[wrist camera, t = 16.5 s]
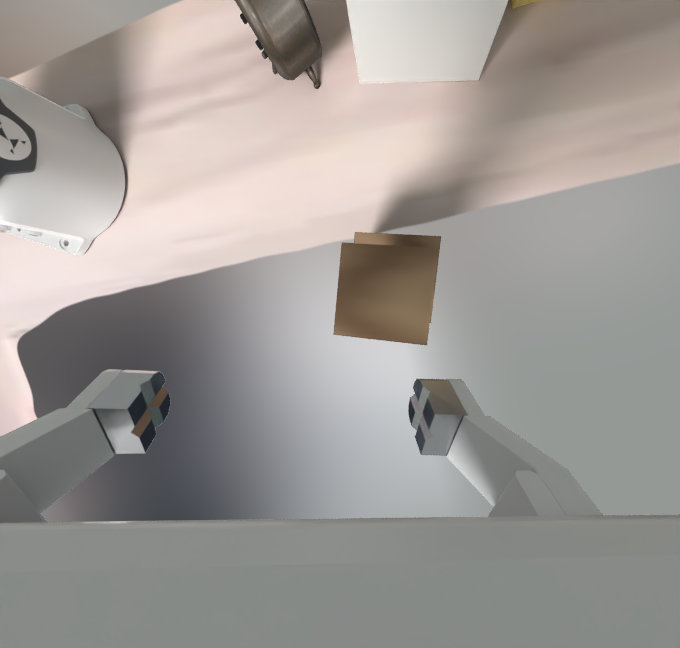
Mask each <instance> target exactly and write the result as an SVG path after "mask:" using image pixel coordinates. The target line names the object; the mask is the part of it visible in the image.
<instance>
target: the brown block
mask: <svg viewBox="0 0 680 648" xmlns="http://www.w3.org/2000/svg"><path fill="white" fill-rule="evenodd" d="M440 241H441V236H421V235H402V234H382V233H363V232H355V237H354V243H342V246H341V257H340V269H339V280H338V291H337V303H336V313H335V325H334V335H342V336H351V337H359V338H368V339H376V340H386V341H394V342H402V343H412V344H420V345H427V340H428V332H429V323H431V316H432V308H433V299H434V291H435V282H436V274H437V266H438V257H439V249H440Z"/></svg>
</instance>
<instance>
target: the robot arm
mask: <svg viewBox="0 0 680 648" xmlns="http://www.w3.org/2000/svg"><path fill="white" fill-rule="evenodd" d="M124 192H125V173H124V167H123V163H122V160H121V157H120V155H119V152H118V150H117V149H116V147H115V145H114V144H113V143H112V141H111V140H110V139H109V138H108V137H107V136H106V135H105V134H104V133H102V132H101V131H100V130H99V129H98V128H97V127H96V126H95V123H94V121H93V119H92V117H91V115H90V114H89V112H88V111H87V109H85V108H84V107H82V106H80V105H78V104H69V105H66V106H60V105H58V104H56V103H54V102H52V101H50V100H48V99H47V98H45V97H43V96H41V95H39V94H37V93H35V92H33V91H31V90H29V89H27V88H25V87H23V86H21V85H19V84H17V83H15V82H14V81H12V80H9V79H7V78H4V77H0V232H4V233H6V232H7V233H10V234H13V235H16V236H19V237H22V238H25V239H28V240H31V241H33V242H36V243H39V244H42V245H45V246H48V247H51V248H54V249H57V250H60V251H63V252H66V253H69V254H73V255H77V256H81V255H83V254H84V253H85V252H86V251H87V249H88V248H89V246H90V244H91V242H92V241H93V239H94V238H95V237H96V236H98V235H99V234H100V233H102V232H103V231H104V230H106V229H107V228H108V227H109V226H110V224H111V223H112V222H113V221H114V219H115V218H116V216H117V214H118V212H119V210H120V208H121V205H122V202H123V198H124ZM164 383H165V378H164V376H163V374H162V373H161V372H158V371H138V370H111V369H109V370H106V371H103V372H102V373H101V374H100V375H99V376H98V377H97V378H96V379H95V380H94V381H93V382H92V383H91V384H90V385H89V386H88V387H87V388H86V389H85V390H84V391H83V392H82V393H81V394H80V395H79V396H78V397H77V398H76V399H75V400H74V401H73V402H72V403H71V404H70V405H69V406H68V407H67V408H66V409H58V410H55V411H53V412H51V413H49V414H47V415H45V416H43V417H41V418H39V419H37V420H34V421H32V422H30V423H28V424H26V425H24V426H22V427H20V428H18V429H16V430H14V431H11V432H9V433H7V434H5V435H3V436H1V437H0V648H680V514H668V515H603V514H602V513H601V512H600V510H599V509H598V508H597V507H596V505H595V504H594V503H593V501H592V500H591V499H590V497H589V496H588V495H587V493H586V492H585V491H584V490H583V488H582V487H581V486H580V484H579V483H578V482H577V480H576V479H575V478H574V477H573V475H572V474H571V473H570V471H569V470H568V469H567V468H565V467H564V466H562V465H561V464H559V463H558V462H556V461H555V460H553V459H552V458H550V457H549V456H547V455H546V454H545V453H543V452H542V451H540V450H539V449H537V448H536V447H534V446H533V445H531V444H530V443H528V442H527V441H525V440H524V439H523V438H521V437H519V436H518V435H517V434H515V433H514V432H512V431H511V430H509V429H508V428H506V427H505V426H503V425H502V424H501V423H499V422H498V421H496V420H495V419H493V418H492V417H490V416H485V415H484V413H483V412H482V410H481V408H480V407H479V405H478V404H477V402H476V400H475V399H474V397H473V396H472V394H471V392H470V391H469V389H468V388H467V386H466V384H465V383H464V381H462V380H461V379H446V380H444V379H416V381H415V383H414V386H413V389H414V392H415V394H414V395H413V396H412V397H410V401H409V410H408V411H409V419H410V423H411V425H412V427H413V428H415V429H416V430H417V432H416V435H415V438H416V441H417V444H418V447H419V450H420V454H421V455H442V456H443V455H444V456H447V458H448V459H449V460H450V461H451V462H452V463H453V464H454V465H455V466H456V467H457V468H458V470H459V471H460V472H461V473H462V474H463V475H464V476H465V477H466V478H467V479H468V480H469V481H470V482H471V483H472V484H473V485H474V486H475V488H476V489H477V490H478V491H479V492H480V493H481V494H482V495H483V496H484V497H485V498H486V499H487V500H488V501H489V502H490V504H491V505H492V506H493V507H494V508H493V509H492V511H491V512H490V514H489V516H488V517H430V518H357V519H356V518H353V519H352V518H351V519H275V520H274V519H273V520H203V521H202V520H197V521H121V522H119V521H117V522H116V521H115V522H47V520H46V519H45V518H44V517H43V516H42V514H41V512H43V511H44V510H45V509H47V508H48V507H49V506H50V505H52V504H53V503H54V502H55V501H56V500H58V499H59V498H61V497H62V496H63V495H64V494H66V493H67V492H68V491H70V490H71V489H72V488H73V487H75V486H76V485H77V484H78V483H80V482H81V481H82V480H83V479H85V478H86V477H87V476H89V475H90V474H91V473H92V472H94V471H95V470H96V469H98V468H99V467H100V466H101V465H103V464H104V463H105V462H106V461H108V460H109V459H110V458H112V457H113V456H114V454H128V453H146V451H147V449H148V448H149V446H150V445H151V443H152V441H153V439H154V438H155V436H156V434H157V433H156V430H155V427H157V426H159V425H160V424H161V423H163V422H164V421H165V419H166V417H167V415H168V412H169V408H170V395H169V392H168V391H167V390H165V389H164V388H163V387H162V386H163V385H164Z"/></svg>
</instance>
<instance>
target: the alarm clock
mask: <svg viewBox="0 0 680 648" xmlns="http://www.w3.org/2000/svg"><path fill="white" fill-rule="evenodd" d="M235 1H236V3H237V5H238V6H239V8H240V10H241V11H242V14H240V17H241V19H242V20H243V22H244V24H246V23H247V22H248V23H249V25H250V27H251V28H252V30H253V31H254V33H255V35H256V36H257V38H258V40H257V41H256V44H257V46H258V48H259V49H260V50H262V49H263V48H264V51H263V52H262V56H263V57H264V59H266V58H267V57H269V59H270V61H271V62H272V68H273V73H274V74H276V70H277V72H278V73H279V74H280V75H281V76H282V77H283V78H284V79H286V80H294V79H295V78H297V77H298V76H299V75H300V74H301V73H302V72H303V71H306V72H307V74H308V76H309V78H310V79H311V80H312V81H313V83H314V87H315V88H316V89H318V88H319V86H320V84H319V82H318V81H317V79H316V75H315V73H314V71H313V69H312V67H311V64H312V63H314V62H315V61H316V60H317V59H318V58H319V57H321V55H322V48H321V44H320V41H319V37H318V34H317V31H316V28H315V26H314V23H313V21H312V18H311V16H310V13H309V11H308V9H307V6H306V4H305V2H304V0H235Z"/></svg>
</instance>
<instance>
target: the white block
mask: <svg viewBox="0 0 680 648" xmlns="http://www.w3.org/2000/svg"><path fill="white" fill-rule="evenodd" d="M346 3H347V9H348V15H349V21H350V27H351V33H352V40H353V46H354V52H355V58H356V64H357V70H358V77H359V83H360V84H366V83H402V82H438V81H473V80H479V77H480V75H481V72H482V69H483V67H484V64H485V62H486V59H487V56H488V54H489V51H490V48H491V46H492V43H493V40H494V38H495V35H496V32H497V30H498V27H499V24H500V22H501V19H502V16H503V14H504V11H505V8H506V6H507V3H508V0H346Z"/></svg>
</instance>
